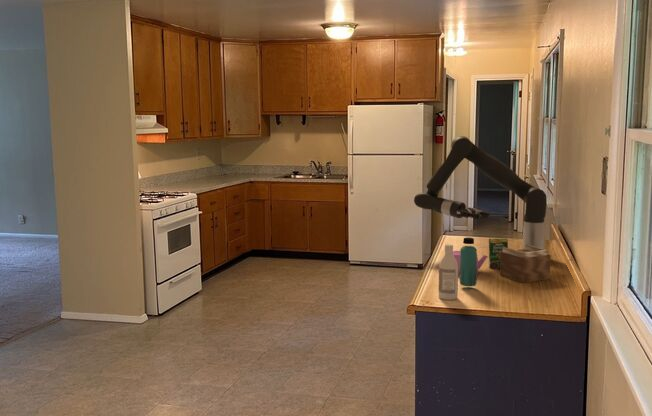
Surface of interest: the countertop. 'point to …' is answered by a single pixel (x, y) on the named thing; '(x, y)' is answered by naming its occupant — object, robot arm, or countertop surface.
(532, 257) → the walnut stand
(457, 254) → the teapot
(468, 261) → the beverage bottle
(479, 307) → the countertop surface
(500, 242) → the coffee box
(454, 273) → the bath foam
